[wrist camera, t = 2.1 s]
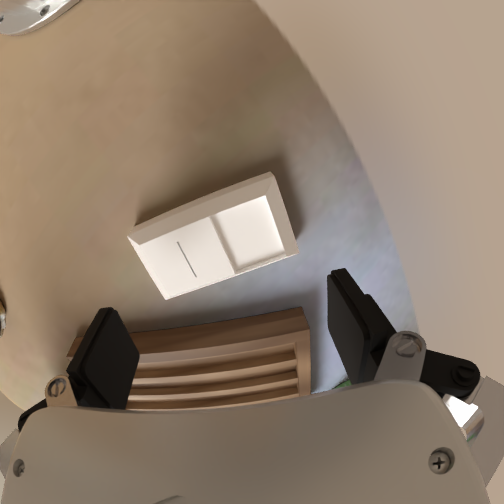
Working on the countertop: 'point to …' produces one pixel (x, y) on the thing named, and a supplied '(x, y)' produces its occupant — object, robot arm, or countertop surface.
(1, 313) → the pastry
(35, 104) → the countertop surface
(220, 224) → the soap bar
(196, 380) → the drying rack
